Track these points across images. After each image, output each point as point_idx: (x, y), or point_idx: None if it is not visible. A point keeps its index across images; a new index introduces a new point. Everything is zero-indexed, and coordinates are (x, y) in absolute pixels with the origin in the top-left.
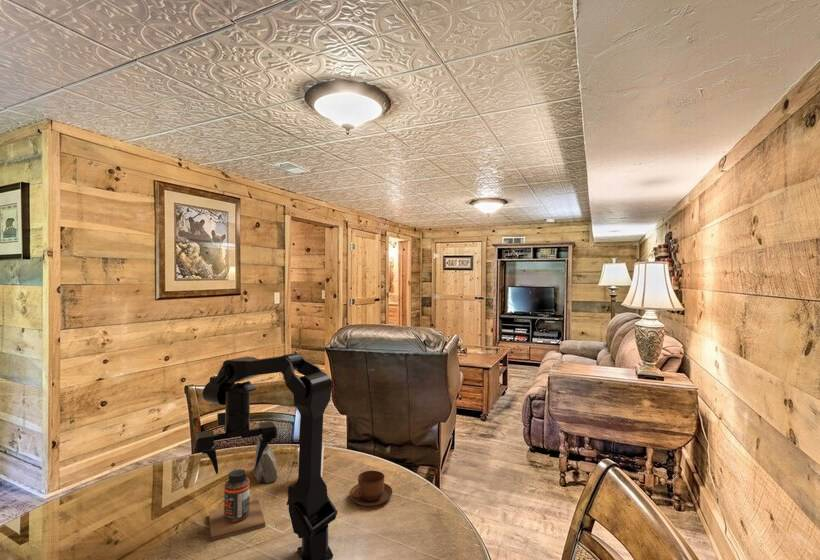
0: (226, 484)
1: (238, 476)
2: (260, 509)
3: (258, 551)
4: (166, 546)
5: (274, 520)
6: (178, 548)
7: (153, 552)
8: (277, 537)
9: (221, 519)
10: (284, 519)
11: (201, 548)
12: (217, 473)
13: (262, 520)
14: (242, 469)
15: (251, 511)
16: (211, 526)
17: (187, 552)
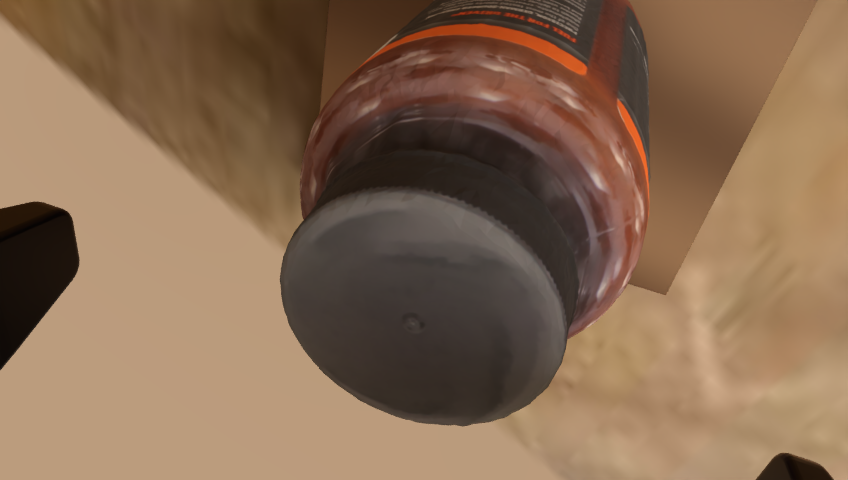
0: (307, 212)
1: (399, 411)
2: (761, 94)
3: (512, 421)
4: (90, 25)
5: (767, 257)
6: (156, 101)
7: (34, 37)
8: (654, 409)
9: (417, 5)
10: (832, 299)
11: (270, 195)
12: (66, 278)
13: (666, 257)
14: (529, 294)
15: (678, 65)
16: (331, 58)
17: (203, 175)
